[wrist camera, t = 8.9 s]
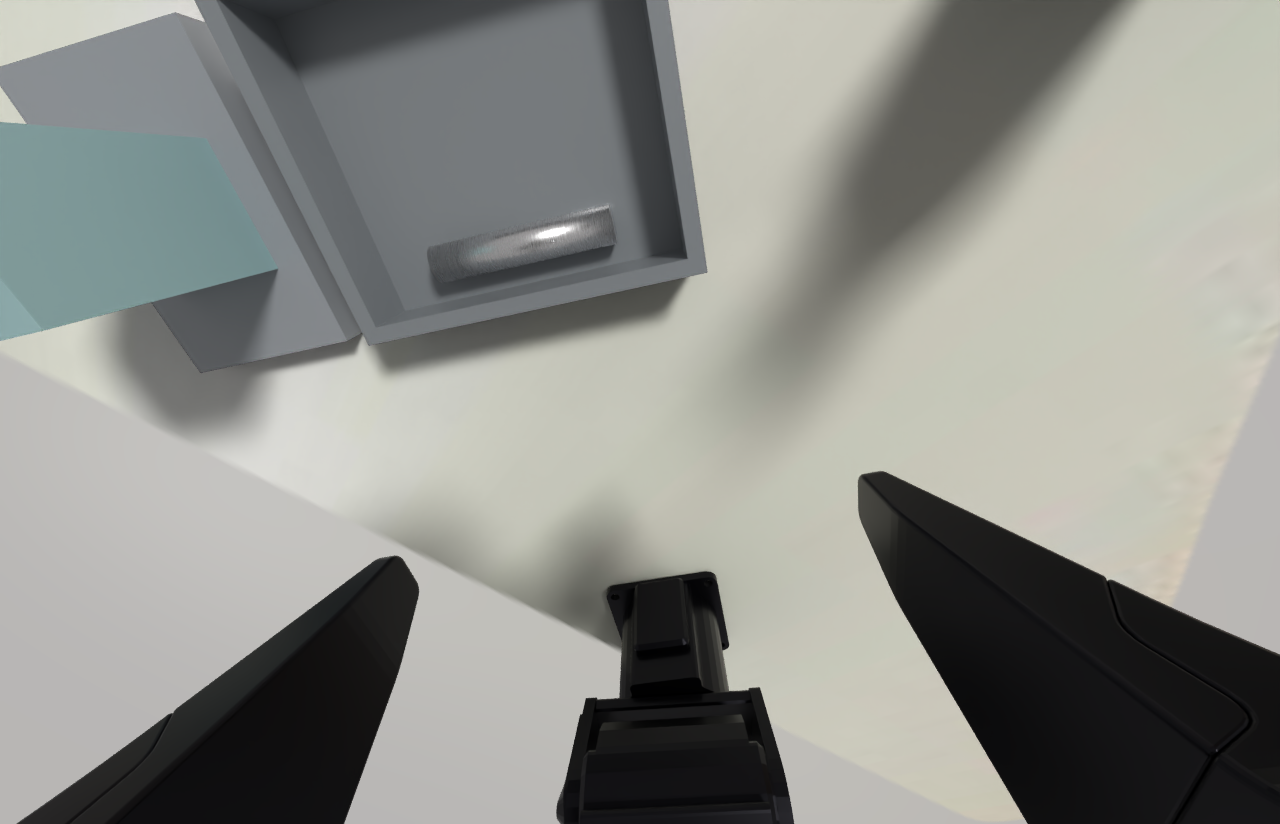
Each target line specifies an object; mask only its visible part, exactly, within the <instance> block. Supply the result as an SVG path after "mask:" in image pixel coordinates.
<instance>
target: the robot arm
mask: <svg viewBox="0 0 1280 824" xmlns="http://www.w3.org/2000/svg"><path fill="white" fill-rule="evenodd" d="M858 511H859V517H860V520H861V523H862V525H863V528H864V530H865V532H866V534H867V537H868V539H869V541H870V543H871V546H872V548H873V550H874V552H875V554H876V557H877V559H878V561H879V563H880V566H881V568H882V570H883V572H884V575H885V577H886V579H887V581H888V584H889V586H890V588H891V590H892V592H893V594H894V596H895V599H896V600H897V602H898V604H899V606H900V608H901V609H902V611H903V613H904V615H905V616H906V618H907V620H908V621H909V623H910V625H911V627H912V628H913V630H914V632H915V633H916V635H917V637H918V638H919V640H920V642H921V644H922V645H923V647H924V649H925V650H926V652H927V654H928V655H929V657H930V659H931V660H932V662H933V664H934V666H935V667H936V669H937V671H938V672H939V674H940V676H941V677H942V679H943V681H944V683H945V684H946V686H947V688H948V689H949V691H950V693H951V694H952V696H953V698H954V700H955V701H956V703H957V705H958V706H959V708H960V710H961V711H962V713H963V715H964V717H965V718H966V720H967V722H968V723H969V725H970V727H971V728H972V730H973V732H974V733H975V735H976V737H977V739H978V740H979V742H980V744H981V745H982V747H983V749H984V750H985V752H986V754H987V756H988V757H989V759H990V761H991V762H992V764H993V766H994V767H995V769H996V771H997V773H998V774H999V776H1000V778H1001V779H1002V781H1003V783H1004V784H1005V786H1006V788H1007V790H1008V791H1009V793H1010V795H1011V796H1012V798H1013V800H1014V801H1015V803H1016V805H1017V807H1018V808H1019V810H1020V812H1021V813H1022V815H1023V817H1024V818H1025V820H1026V822H1027V823H1028V824H1280V654H1277V653H1275V652H1272V651H1270V650H1268V649H1265V648H1263V647H1260V646H1258V645H1256V644H1254V643H1251V642H1249V641H1246V640H1244V639H1242V638H1240V637H1237V636H1235V635H1232V634H1230V633H1228V632H1225V631H1223V630H1221V629H1219V628H1216V627H1213V626H1212V625H1209V624H1207V623H1204V622H1202V621H1200V620H1198V619H1196V618H1193V617H1191V616H1189V615H1187V614H1185V613H1182V612H1180V611H1178V610H1176V609H1174V608H1172V607H1169V606H1167V605H1165V604H1163V603H1161V602H1159V601H1156V600H1154V599H1152V598H1150V597H1148V596H1145V595H1143V594H1141V593H1139V592H1137V591H1135V590H1133V589H1131V588H1129V587H1127V586H1124V585H1122V584H1120V583H1118V582H1116V581H1114V580H1108V581H1107V580H1106V578H1105V577H1104V576H1103V575H1101V574H1099V573H1097V572H1095V571H1093V570H1090V569H1088V568H1086V567H1084V566H1082V565H1080V564H1078V563H1076V562H1074V561H1072V560H1069V559H1067V558H1065V557H1063V556H1061V555H1059V554H1057V553H1055V552H1053V551H1051V550H1048V549H1046V548H1044V547H1042V546H1040V545H1038V544H1036V543H1034V542H1032V541H1030V540H1027V539H1025V538H1023V537H1021V536H1019V535H1017V534H1015V533H1013V532H1011V531H1009V530H1006V529H1004V528H1002V527H1000V526H998V525H996V524H994V523H992V522H990V521H988V520H985V519H983V518H981V517H979V516H977V515H975V514H973V513H971V512H969V511H967V510H964V509H962V508H960V507H958V506H956V505H954V504H952V503H950V502H948V501H946V500H943V499H941V498H939V497H937V496H935V495H933V494H931V493H929V492H927V491H925V490H922V489H920V488H918V487H916V486H914V485H912V484H910V483H908V482H906V481H904V480H901V479H899V478H897V477H895V476H893V475H891V474H889V473H887V472H884V471H878V472H872V473H867V474H862V475H861V476H860V477H859V479H858ZM707 580H710V581H707ZM614 594H617V595H614ZM418 596H419V587H418V583H417V581H416V580H415V578H414V576H413V575H412V573H411V572H410V570H409V568H408V567H407V565H406V564H405V562H404V560H403V559H402V558H401V557H399V556H389V557H384V558H379V559H377V560H375V561H374V562H372V563H371V564H370V565H368V566H367V567H365V568H364V569H363V570H361V571H360V572H359V573H357V574H356V575H355V576H353V577H352V578H351V579H349V580H348V581H347V582H345V583H344V584H343V585H341V586H340V587H339V588H337V589H336V590H335V591H333V592H332V593H331V594H329V595H328V596H327V597H325V598H324V599H323V600H321V601H320V602H319V603H318V604H316V605H315V606H313V607H312V608H311V609H309V610H308V611H307V612H305V613H304V614H303V615H301V616H300V617H299V618H297V619H296V620H294V621H293V622H292V623H290V624H289V625H288V626H286V627H285V628H284V629H282V630H281V631H280V632H278V633H277V634H276V635H274V636H273V637H272V638H270V639H269V640H268V641H266V642H265V643H264V644H262V645H261V646H260V647H258V648H257V649H256V650H254V651H253V652H252V653H250V654H249V655H248V656H246V657H245V658H244V659H243V660H241V661H240V662H238V663H237V664H236V665H234V666H233V667H231V669H229V670H228V671H226V672H225V673H224V674H222V675H221V676H219V677H218V678H217V679H215V680H214V681H213V682H211V683H210V684H209V685H208V686H206V687H205V688H203V689H202V690H201V691H199V692H198V693H197V694H195V695H194V696H193V697H191V698H190V699H189V700H187V701H186V702H185V703H183V704H182V705H181V706H179V707H178V708H177V709H176V710H175V711H174V713H171V714H168V715H167V716H166V717H164V718H163V719H162V720H160V721H159V722H158V723H156V724H155V725H154V726H152V727H151V728H150V729H148V730H147V731H146V732H145V733H143V734H142V735H140V736H139V737H137V738H136V739H135V740H133V741H132V742H131V743H129V744H128V745H127V746H125V747H124V748H122V749H121V750H120V751H118V752H117V753H116V754H114V755H113V756H112V757H110V758H109V759H108V760H106V761H105V762H104V763H102V764H101V765H99V766H98V767H96V768H95V769H94V770H92V771H91V772H89V773H88V774H87V775H85V776H84V777H82V778H81V779H79V780H78V781H77V782H76V783H74V784H72V785H71V786H70V787H68V788H67V789H65V790H64V791H63V792H61V793H60V794H58V795H57V796H55V797H54V798H53V799H51V800H50V801H48V802H47V803H45V804H44V805H43V806H41V807H40V808H38V809H37V810H35V811H34V812H33V813H31V814H30V815H28V816H27V817H25V818H24V819H22V820H21V821H20V822H18V823H17V824H344V822H345V820H346V817H347V814H348V811H349V809H350V806H351V803H352V800H353V797H354V795H355V792H356V789H357V786H358V784H359V781H360V778H361V775H362V773H363V770H364V767H365V764H366V761H367V758H368V756H369V753H370V750H371V747H372V745H373V742H374V739H375V736H376V734H377V731H378V728H379V725H380V723H381V720H382V717H383V714H384V712H385V709H386V706H387V703H388V700H389V698H390V695H391V692H392V689H393V687H394V684H395V681H396V678H397V675H398V672H399V669H400V665H401V662H402V658H403V654H404V650H405V646H406V643H407V639H408V635H409V631H410V627H411V623H412V620H413V616H414V612H415V608H416V604H417V600H418ZM607 600H608V603H609V606H610V609H611V611H612V614H613V617H614V620H615V623H616V626H617V629H618V631H619V634H620V637H621V640H622V655H621V677H620V698H618V699H617V698H615V699H600V700H597V698H586V700H585V705H584V709H583V714H582V715H580V718H579V722H578V727H577V732H576V736H575V740H574V745H573V749H572V754H571V758H570V763H569V767H568V772H567V776H566V781H565V784H564V787H563V789H562V792H561V794H560V797H559V800H558V803H557V812H556V813H557V819H558V821H559V822H560V824H794V820H793V813H792V807H791V802H790V796H789V792H788V787H787V782H786V777H785V773H784V769H783V765H782V762H781V758H780V754H779V751H778V748H777V744H776V741H775V737H774V734H773V731H772V728H771V724H770V720H769V717H768V714H767V710H766V707H765V704H764V700H763V697H762V693H761V690H760V687H758V688H749V690H743V691H729V687H728V681H727V675H726V669H725V663H724V657H723V651H722V650H725V649H727V648H728V647H729V641H728V636H727V631H726V626H725V620H724V615H723V610H722V605H721V600H720V594H719V589H718V584H717V579H716V576H715V574H714V573H712V572H702V573H696V574H689V575H682V576H676V577H669V578H662V579H656V580H649V581H642V582H636V583H629V584H622V585H615V586H611V587H610V588H608V590H607Z"/></svg>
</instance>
